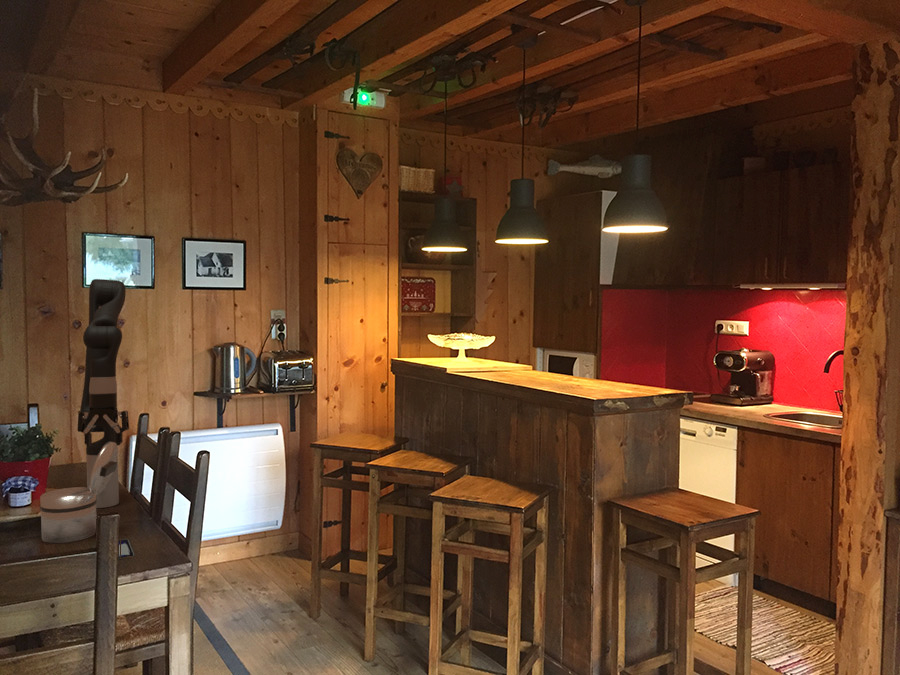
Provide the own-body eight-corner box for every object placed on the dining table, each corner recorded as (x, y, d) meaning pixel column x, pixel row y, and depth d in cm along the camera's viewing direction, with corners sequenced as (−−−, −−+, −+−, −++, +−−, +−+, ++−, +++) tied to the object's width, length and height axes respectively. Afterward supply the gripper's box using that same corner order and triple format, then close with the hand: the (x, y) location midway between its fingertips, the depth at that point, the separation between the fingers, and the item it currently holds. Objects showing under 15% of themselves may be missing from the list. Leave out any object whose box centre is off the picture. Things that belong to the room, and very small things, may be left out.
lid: (117, 437, 218) (127, 439, 218) (105, 486, 218) (114, 488, 218) (97, 447, 203) (107, 449, 203) (84, 499, 203) (94, 501, 203)
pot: (55, 528, 217) (53, 487, 217) (105, 526, 218) (104, 486, 218) (31, 544, 203) (29, 500, 202) (85, 542, 204) (84, 499, 204)
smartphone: (103, 561, 188) (98, 543, 201) (103, 564, 188) (99, 546, 201) (135, 555, 192) (128, 538, 205) (135, 559, 192) (128, 542, 205)
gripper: (131, 390, 228) (132, 443, 228) (84, 391, 227) (84, 444, 227) (122, 392, 221) (123, 446, 220) (73, 393, 219) (73, 447, 219)
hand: (103, 445), depth 223 cm, fingers open, 8 cm apart
